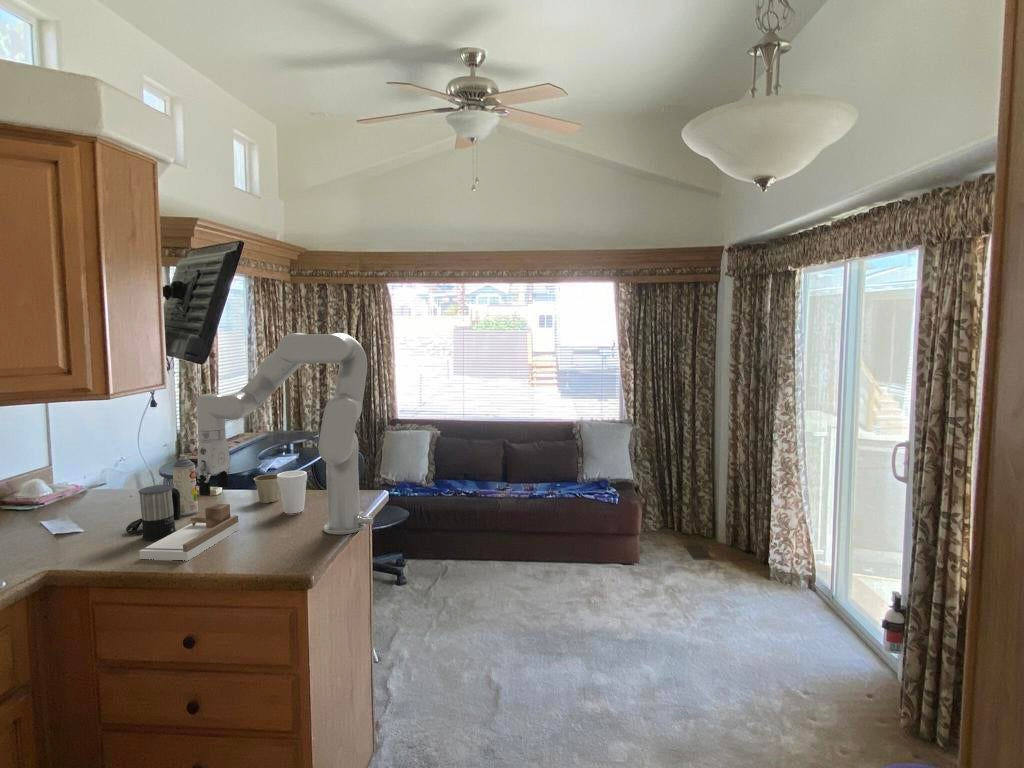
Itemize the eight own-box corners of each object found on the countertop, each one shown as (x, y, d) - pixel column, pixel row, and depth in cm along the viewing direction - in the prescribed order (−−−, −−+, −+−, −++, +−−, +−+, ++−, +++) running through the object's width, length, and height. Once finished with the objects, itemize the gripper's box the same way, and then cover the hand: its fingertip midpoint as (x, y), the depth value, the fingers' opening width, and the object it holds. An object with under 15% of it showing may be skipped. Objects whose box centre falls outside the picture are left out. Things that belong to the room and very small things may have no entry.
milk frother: (170, 540, 194) (166, 491, 192) (112, 544, 192) (108, 494, 190) (185, 525, 208) (182, 479, 206) (132, 528, 206) (128, 482, 204)
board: (238, 529, 203) (238, 515, 202) (188, 560, 177) (186, 544, 177) (196, 528, 204) (195, 514, 204) (140, 559, 179) (138, 543, 178)
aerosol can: (196, 515, 219) (192, 456, 216) (174, 517, 216) (169, 458, 214) (199, 509, 225) (195, 452, 223) (177, 511, 223) (173, 453, 221)
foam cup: (312, 512, 219) (310, 474, 218) (283, 517, 214) (281, 478, 213) (303, 505, 227) (301, 469, 226) (276, 510, 222) (273, 473, 220)
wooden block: (230, 523, 201) (229, 504, 201) (221, 528, 196) (220, 508, 196) (197, 522, 202) (196, 503, 202) (187, 527, 198) (186, 508, 197)
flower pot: (259, 497, 238) (257, 474, 237) (285, 496, 239) (284, 473, 238) (251, 505, 229) (250, 481, 228) (279, 504, 230) (278, 479, 229)
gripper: (207, 440, 187) (209, 499, 189) (239, 430, 204) (241, 484, 206) (182, 440, 188) (185, 498, 190) (216, 429, 205) (218, 483, 207)
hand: (214, 490), depth 198 cm, fingers open, 9 cm apart
